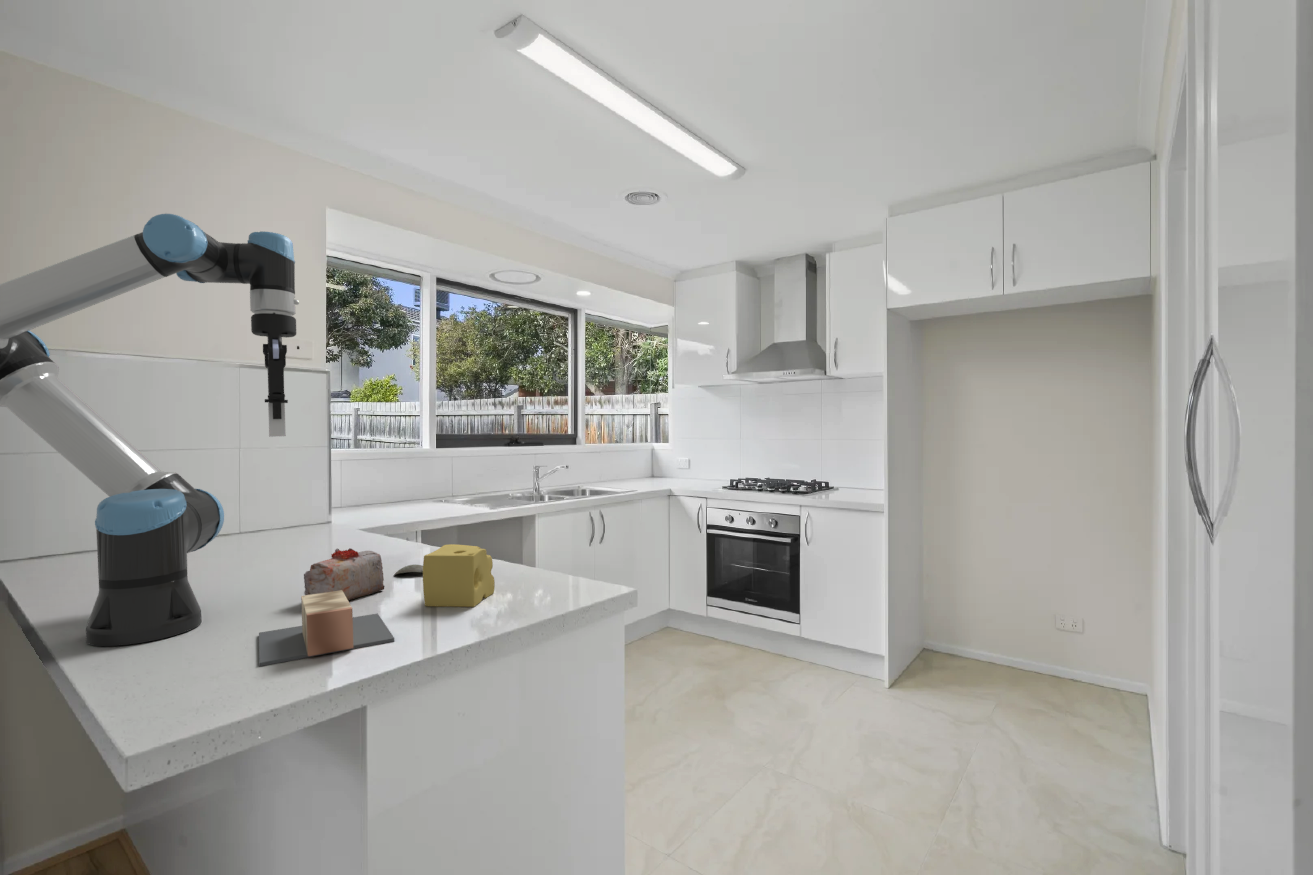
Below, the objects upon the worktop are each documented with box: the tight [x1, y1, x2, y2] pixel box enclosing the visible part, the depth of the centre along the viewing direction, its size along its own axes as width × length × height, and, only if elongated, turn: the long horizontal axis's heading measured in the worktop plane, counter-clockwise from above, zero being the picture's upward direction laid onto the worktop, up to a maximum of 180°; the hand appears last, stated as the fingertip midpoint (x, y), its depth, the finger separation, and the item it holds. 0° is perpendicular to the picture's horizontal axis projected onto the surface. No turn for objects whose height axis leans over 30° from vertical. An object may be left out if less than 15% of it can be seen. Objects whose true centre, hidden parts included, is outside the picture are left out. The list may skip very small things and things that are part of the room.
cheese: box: [422, 543, 496, 608], centre depth 123 cm, size 10×11×10 cm
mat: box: [258, 613, 395, 667], centre depth 101 cm, size 18×16×1 cm
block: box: [301, 590, 354, 657], centre depth 99 cm, size 6×6×13 cm
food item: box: [303, 548, 386, 601], centre depth 126 cm, size 14×8×10 cm, turn 155°
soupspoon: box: [393, 564, 423, 576], centre depth 142 cm, size 22×3×7 cm
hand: (277, 436), depth 123 cm, fingers closed
